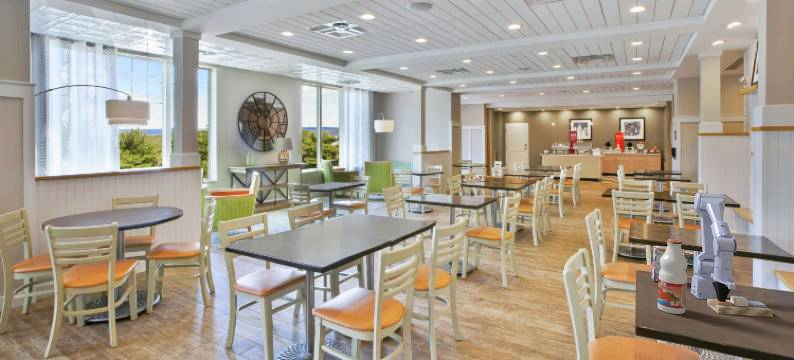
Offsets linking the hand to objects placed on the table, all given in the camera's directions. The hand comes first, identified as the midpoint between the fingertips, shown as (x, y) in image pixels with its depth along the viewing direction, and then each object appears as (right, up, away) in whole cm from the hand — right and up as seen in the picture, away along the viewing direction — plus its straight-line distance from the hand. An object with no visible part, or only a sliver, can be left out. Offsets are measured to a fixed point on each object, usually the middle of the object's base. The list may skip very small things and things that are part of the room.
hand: (721, 301), depth 171 cm
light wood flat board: (+6, -3, -1) cm, 7 cm away
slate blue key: (+12, -2, -2) cm, 12 cm away
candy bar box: (-1, -1, +34) cm, 34 cm away
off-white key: (+6, -1, -1) cm, 6 cm away
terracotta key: (0, -2, 0) cm, 2 cm away
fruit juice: (-19, -4, +1) cm, 20 cm away
